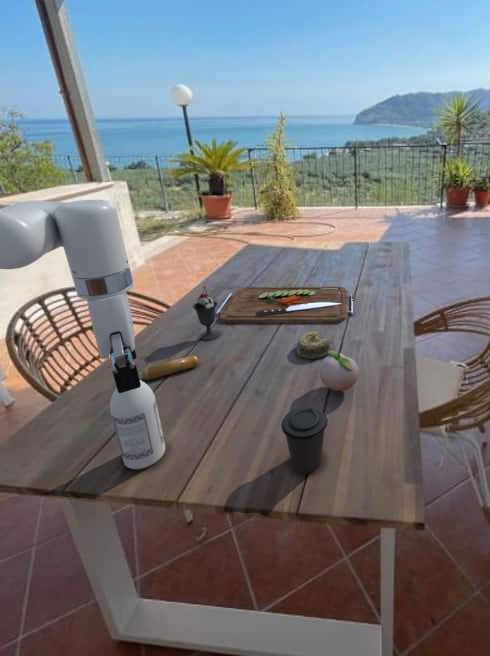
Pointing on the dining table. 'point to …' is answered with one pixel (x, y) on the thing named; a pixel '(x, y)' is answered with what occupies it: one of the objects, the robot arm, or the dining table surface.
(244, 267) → the dining table surface
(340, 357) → the decorative fruit
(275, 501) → the dining table surface
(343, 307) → the chopping board
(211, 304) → the sundae
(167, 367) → the breadstick
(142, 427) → the bath foam
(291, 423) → the coffee cup
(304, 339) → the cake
